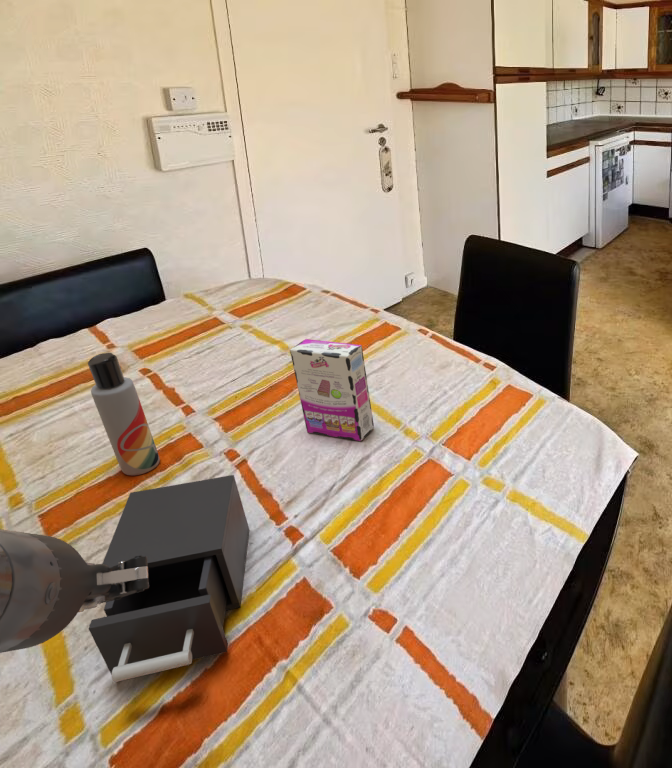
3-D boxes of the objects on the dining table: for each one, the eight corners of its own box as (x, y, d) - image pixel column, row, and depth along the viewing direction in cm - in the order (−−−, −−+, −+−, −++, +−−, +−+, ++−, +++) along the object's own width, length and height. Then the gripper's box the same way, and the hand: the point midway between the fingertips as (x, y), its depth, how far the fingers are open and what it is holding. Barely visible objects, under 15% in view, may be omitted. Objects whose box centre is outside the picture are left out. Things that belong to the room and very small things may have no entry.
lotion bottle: (161, 469, 101) (123, 359, 92) (122, 480, 99) (78, 368, 89) (159, 452, 106) (122, 345, 96) (121, 462, 103) (79, 353, 94)
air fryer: (240, 607, 76) (221, 548, 71) (126, 632, 73) (98, 572, 68) (249, 529, 88) (233, 474, 84) (152, 548, 85) (130, 492, 81)
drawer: (222, 684, 66) (204, 634, 62) (102, 714, 63) (75, 663, 59) (238, 566, 81) (223, 520, 77) (141, 586, 78) (121, 539, 74)
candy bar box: (375, 427, 111) (363, 344, 103) (361, 442, 107) (348, 356, 99) (321, 418, 114) (305, 336, 106) (305, 432, 110) (287, 349, 102)
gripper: (105, 511, 42) (185, 531, 58) (-134, 553, 38) (21, 562, 55) (110, 628, 40) (191, 615, 56) (-141, 683, 36) (22, 652, 53)
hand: (107, 589), depth 55 cm, fingers closed
